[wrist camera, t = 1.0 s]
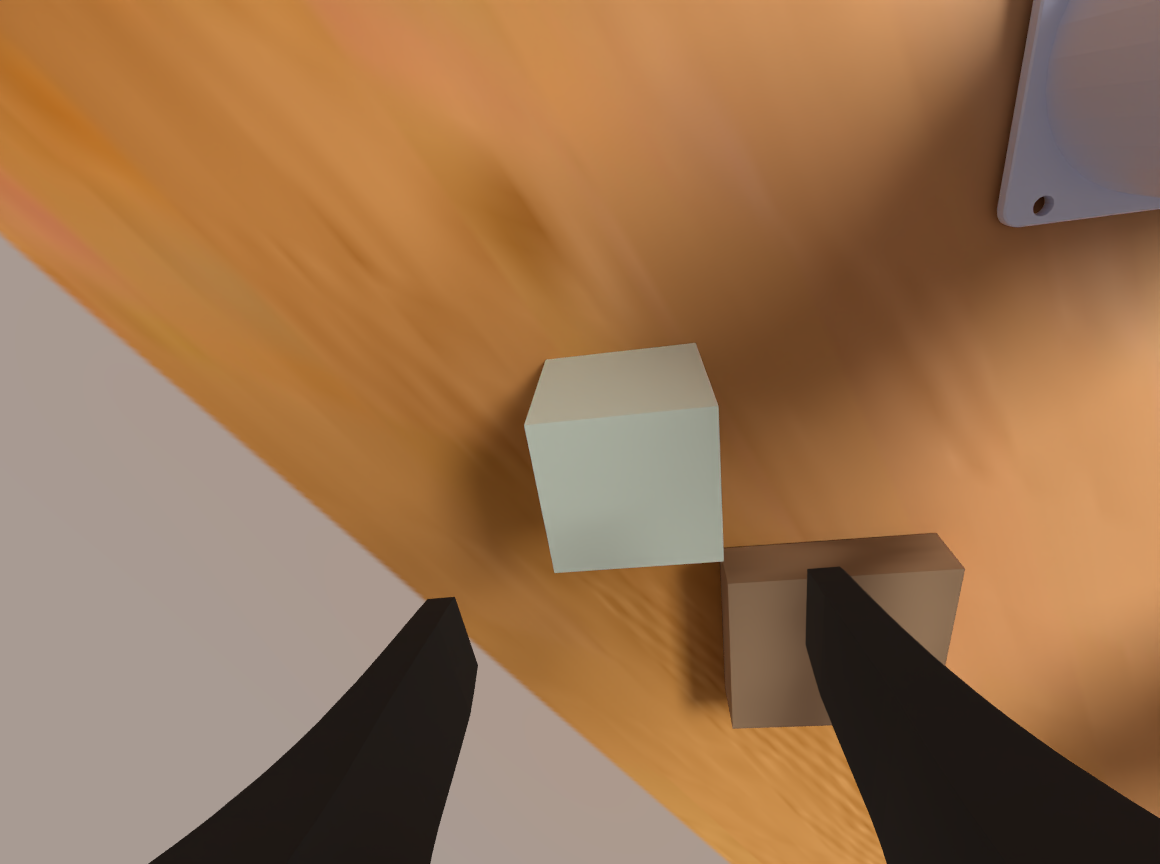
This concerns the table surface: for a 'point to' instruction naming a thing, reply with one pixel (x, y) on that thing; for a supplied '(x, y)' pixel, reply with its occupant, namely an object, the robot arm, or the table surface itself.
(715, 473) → the painted cube
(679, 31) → the table surface
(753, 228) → the table surface
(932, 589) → the walnut plinth
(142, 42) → the table surface
